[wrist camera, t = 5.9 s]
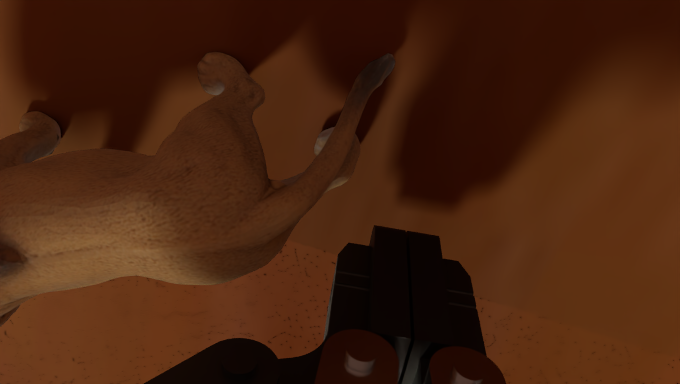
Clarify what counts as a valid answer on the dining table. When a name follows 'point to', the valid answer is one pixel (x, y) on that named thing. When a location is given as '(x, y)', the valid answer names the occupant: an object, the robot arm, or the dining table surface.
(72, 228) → the lion figurine
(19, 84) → the dining table surface
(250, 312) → the dining table surface
